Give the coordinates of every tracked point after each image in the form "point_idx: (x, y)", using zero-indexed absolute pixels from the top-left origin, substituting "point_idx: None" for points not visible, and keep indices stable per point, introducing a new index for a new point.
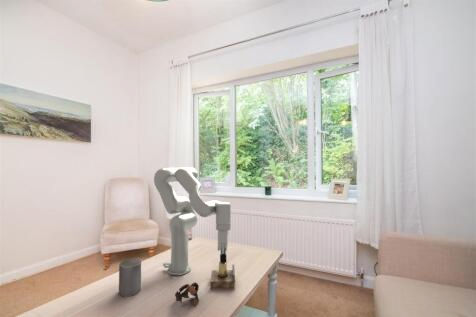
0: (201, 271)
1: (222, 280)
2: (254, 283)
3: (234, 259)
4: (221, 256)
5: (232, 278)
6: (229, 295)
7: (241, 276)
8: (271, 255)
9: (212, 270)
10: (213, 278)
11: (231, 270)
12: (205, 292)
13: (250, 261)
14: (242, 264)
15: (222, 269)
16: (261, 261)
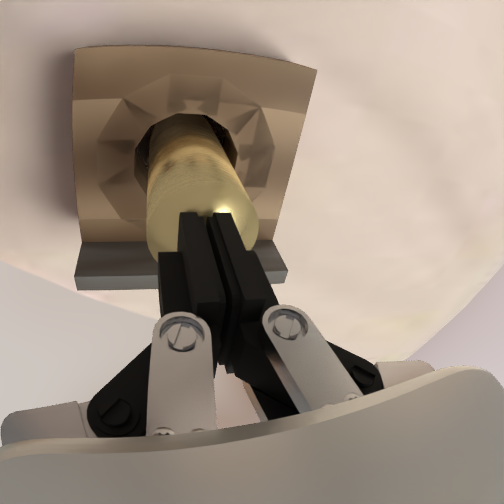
0: (395, 10)
1: (90, 163)
2: (156, 317)
3: (440, 234)
4: (190, 299)
5: (127, 240)
6: (13, 194)
7: None
8: (385, 354)
9: (314, 74)
10: (136, 74)
11: (268, 234)
12: (46, 20)
13: (386, 299)
14: (379, 268)
15: (147, 197)
16: (363, 334)
